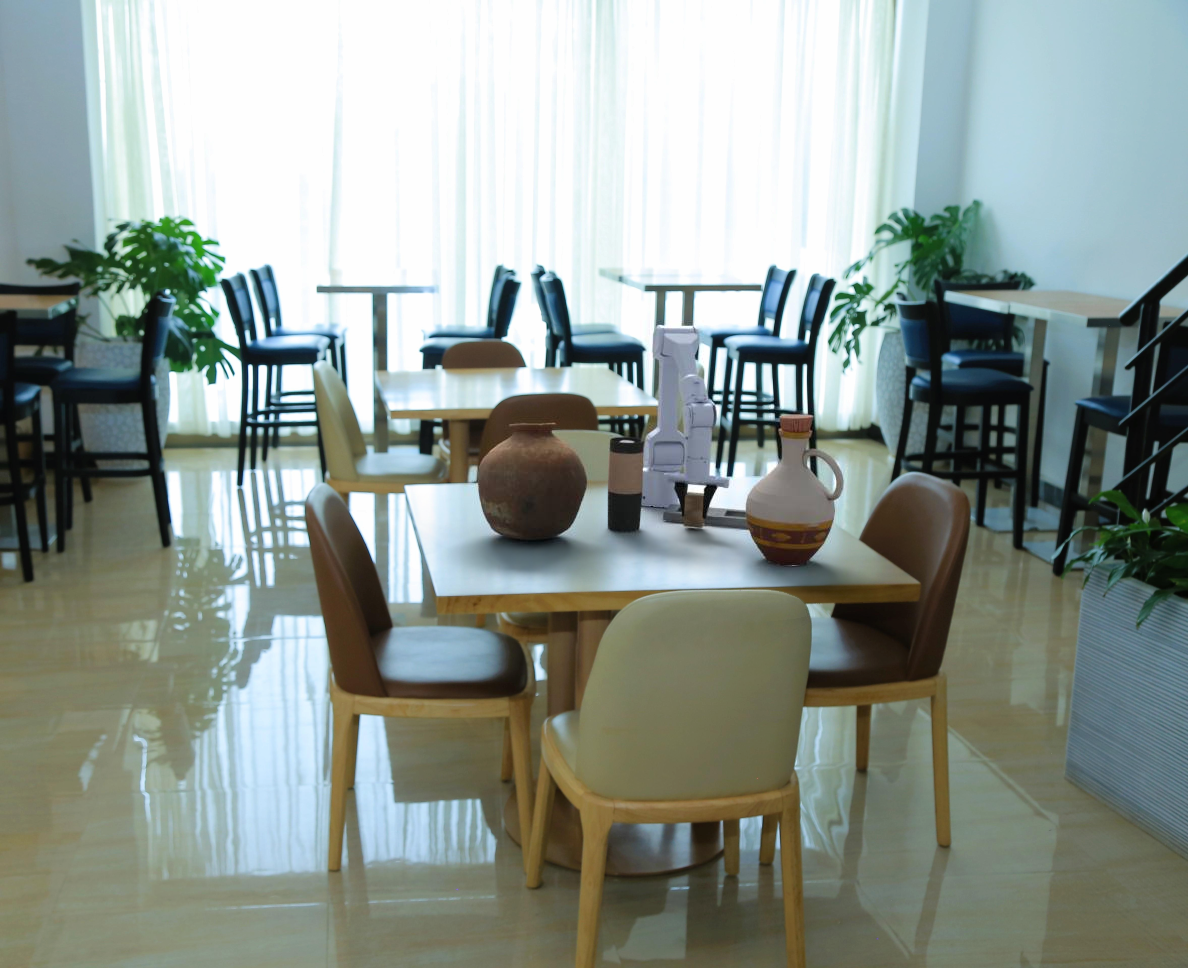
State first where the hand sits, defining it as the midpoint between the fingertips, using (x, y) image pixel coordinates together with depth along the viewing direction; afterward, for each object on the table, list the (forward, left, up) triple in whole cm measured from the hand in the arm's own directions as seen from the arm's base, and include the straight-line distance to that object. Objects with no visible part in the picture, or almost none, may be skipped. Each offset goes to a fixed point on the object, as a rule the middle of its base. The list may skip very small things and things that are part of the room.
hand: (694, 516), depth 265 cm
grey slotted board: (+3, +10, -3) cm, 11 cm away
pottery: (-32, -20, -3) cm, 38 cm away
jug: (+23, -20, -3) cm, 31 cm away
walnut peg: (0, 0, -2) cm, 2 cm away
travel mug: (-15, -5, -3) cm, 16 cm away
